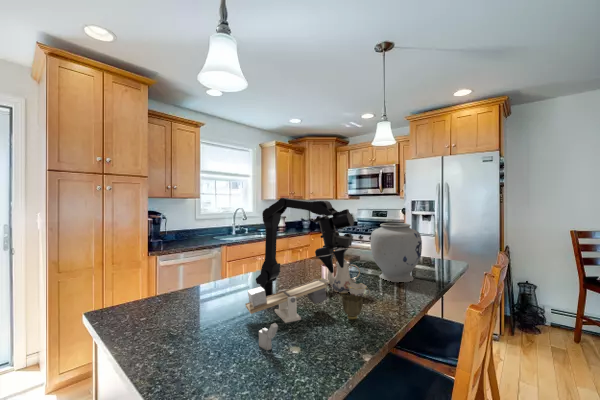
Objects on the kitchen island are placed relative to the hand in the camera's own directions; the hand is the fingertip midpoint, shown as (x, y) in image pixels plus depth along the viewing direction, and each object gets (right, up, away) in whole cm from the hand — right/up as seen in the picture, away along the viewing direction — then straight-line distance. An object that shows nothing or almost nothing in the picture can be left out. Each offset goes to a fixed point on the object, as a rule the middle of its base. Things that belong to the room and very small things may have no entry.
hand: (337, 270), depth 113 cm
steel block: (-30, -9, -11) cm, 33 cm away
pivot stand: (-20, -15, -6) cm, 26 cm away
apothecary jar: (+38, -16, +44) cm, 60 cm away
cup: (+4, -15, -10) cm, 19 cm away
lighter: (-24, -15, -31) cm, 42 cm away
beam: (-19, -13, -6) cm, 24 cm away
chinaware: (+4, -16, +21) cm, 26 cm away
